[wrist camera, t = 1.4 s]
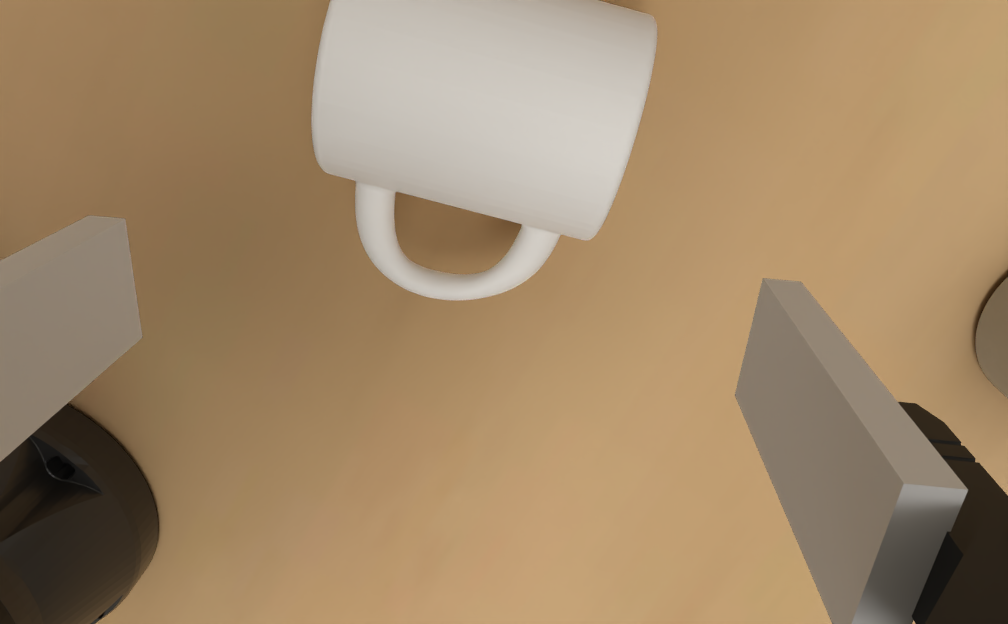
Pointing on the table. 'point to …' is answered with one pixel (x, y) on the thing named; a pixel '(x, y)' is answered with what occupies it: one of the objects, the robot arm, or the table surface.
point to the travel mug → (994, 339)
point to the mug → (481, 120)
